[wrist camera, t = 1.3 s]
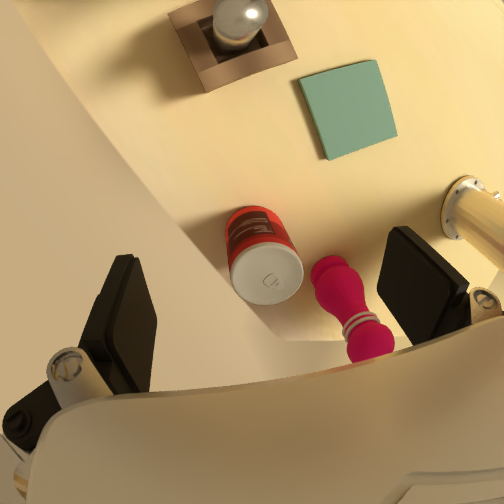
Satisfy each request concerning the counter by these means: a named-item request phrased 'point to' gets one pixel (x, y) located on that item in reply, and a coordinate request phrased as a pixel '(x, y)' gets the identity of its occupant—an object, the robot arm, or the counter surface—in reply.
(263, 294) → the canned food
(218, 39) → the steel pin
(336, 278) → the pepper mill
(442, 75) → the counter surface
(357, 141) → the mat
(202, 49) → the socket block
